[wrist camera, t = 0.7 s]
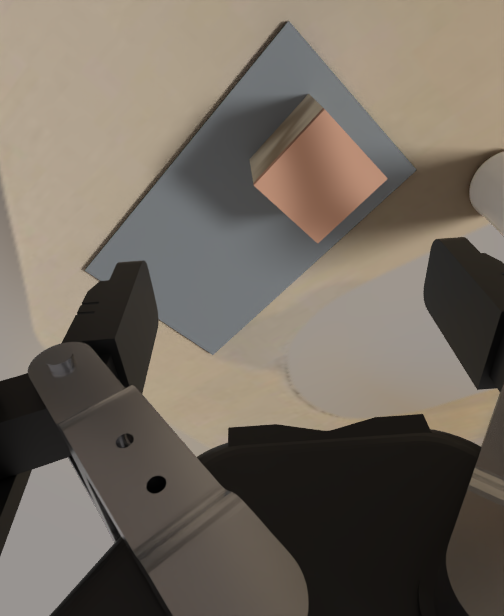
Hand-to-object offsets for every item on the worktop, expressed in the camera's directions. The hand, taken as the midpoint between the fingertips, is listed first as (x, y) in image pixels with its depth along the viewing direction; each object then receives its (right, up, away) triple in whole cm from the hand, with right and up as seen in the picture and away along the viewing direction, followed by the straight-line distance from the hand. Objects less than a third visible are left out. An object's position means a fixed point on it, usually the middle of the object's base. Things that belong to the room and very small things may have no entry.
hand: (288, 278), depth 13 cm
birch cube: (+3, +10, +20) cm, 23 cm away
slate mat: (-2, +6, +23) cm, 24 cm away
